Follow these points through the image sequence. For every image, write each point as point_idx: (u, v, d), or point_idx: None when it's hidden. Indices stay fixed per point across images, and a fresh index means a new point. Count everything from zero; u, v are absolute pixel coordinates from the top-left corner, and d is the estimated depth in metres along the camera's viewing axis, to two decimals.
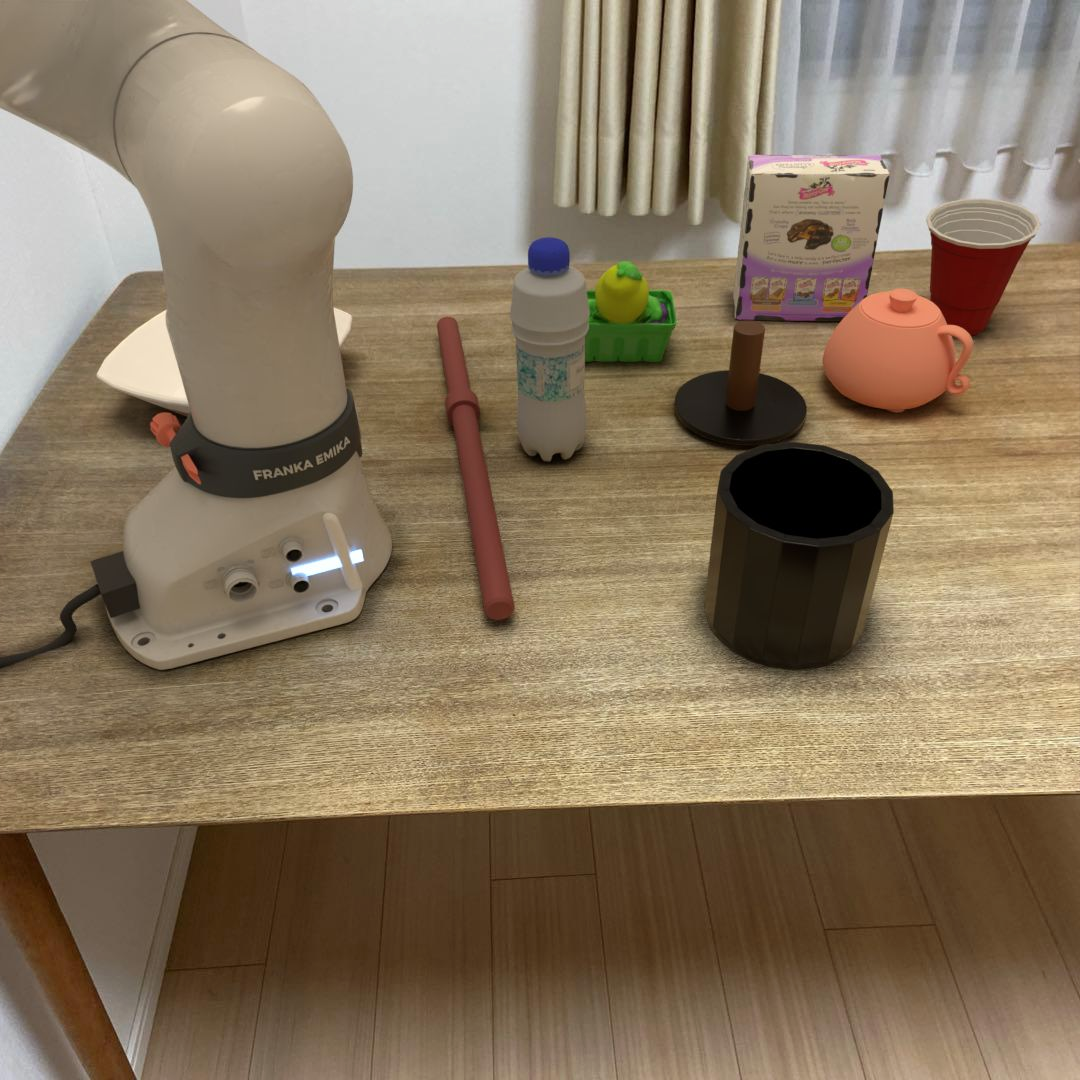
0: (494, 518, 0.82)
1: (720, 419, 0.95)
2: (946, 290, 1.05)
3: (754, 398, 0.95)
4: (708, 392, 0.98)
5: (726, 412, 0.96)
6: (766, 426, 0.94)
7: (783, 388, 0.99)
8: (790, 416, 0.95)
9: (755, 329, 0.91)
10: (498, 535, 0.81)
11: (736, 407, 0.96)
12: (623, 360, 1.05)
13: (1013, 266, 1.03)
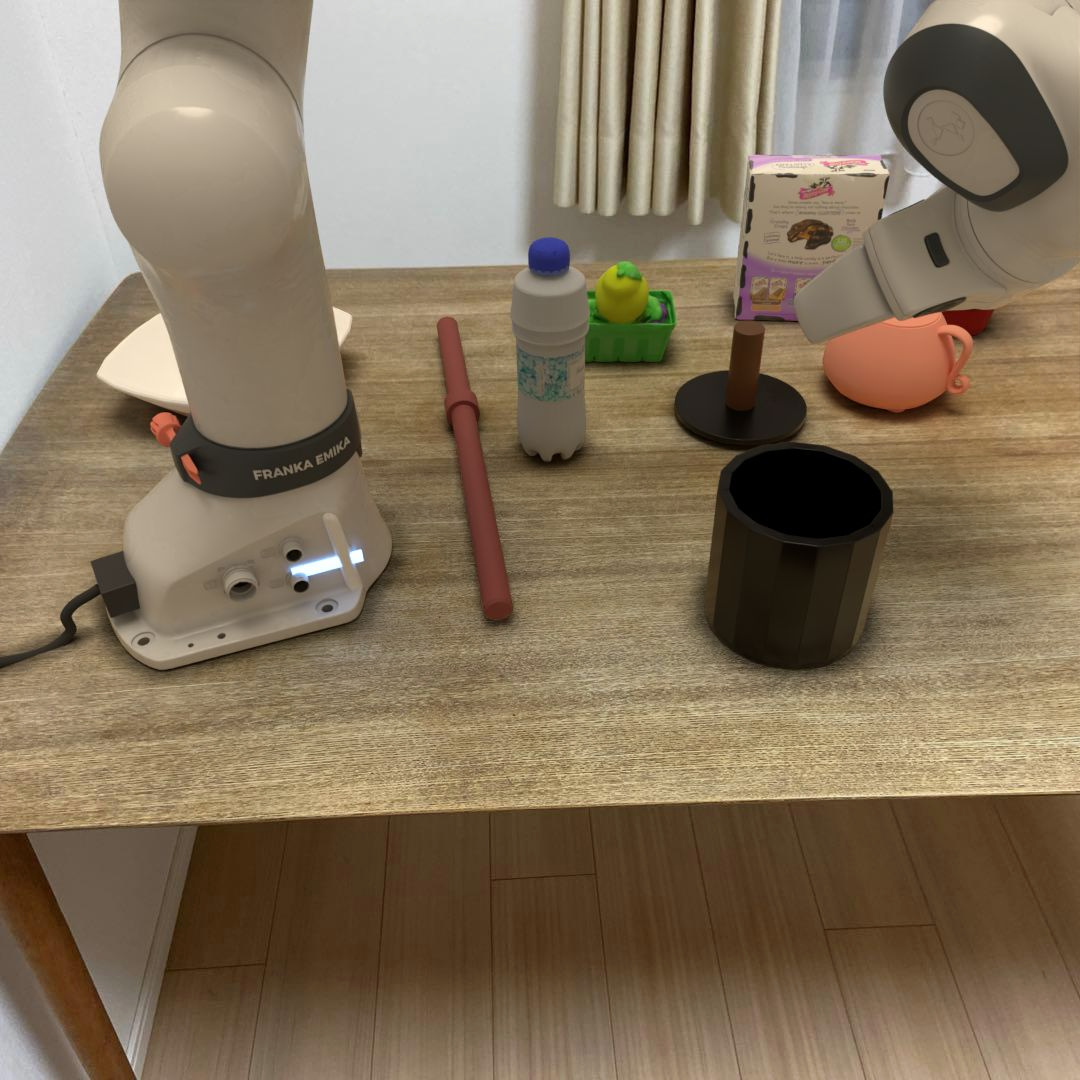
0: (493, 518, 0.82)
1: (720, 419, 0.95)
2: None
3: (754, 398, 0.95)
4: (708, 392, 0.98)
5: (726, 412, 0.96)
6: (766, 426, 0.94)
7: (783, 388, 0.99)
8: (790, 416, 0.95)
9: (755, 329, 0.91)
10: (497, 535, 0.81)
11: (736, 407, 0.96)
12: (623, 360, 1.05)
13: None
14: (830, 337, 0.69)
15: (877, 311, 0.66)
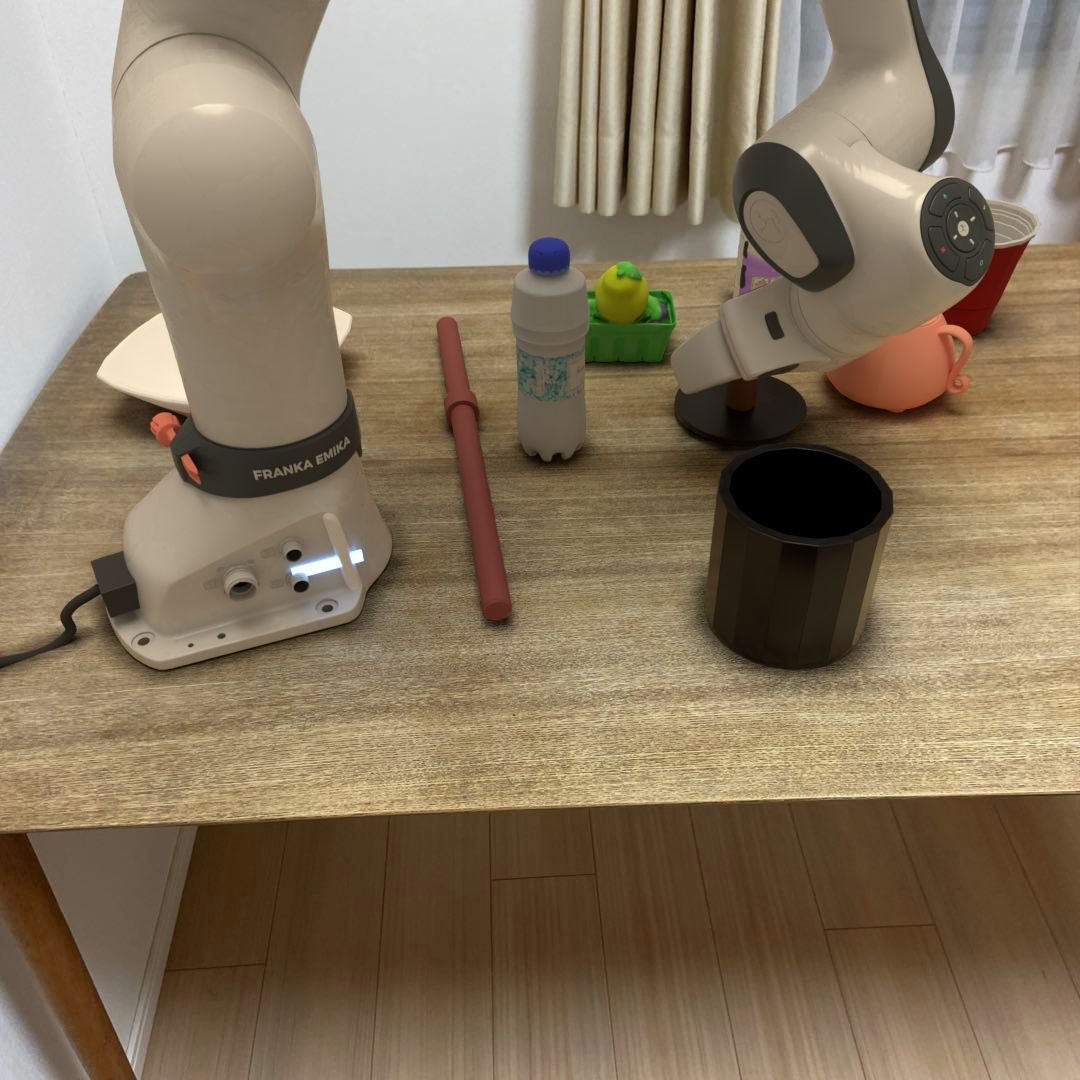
0: (492, 518, 0.82)
1: (720, 419, 0.95)
2: None
3: (754, 398, 0.95)
4: (708, 392, 0.98)
5: (726, 412, 0.96)
6: (766, 426, 0.94)
7: (783, 388, 0.99)
8: (790, 416, 0.95)
9: None
10: (496, 535, 0.81)
11: (736, 407, 0.96)
12: (623, 360, 1.05)
13: (1013, 266, 1.03)
14: (697, 390, 0.84)
15: (729, 372, 0.81)
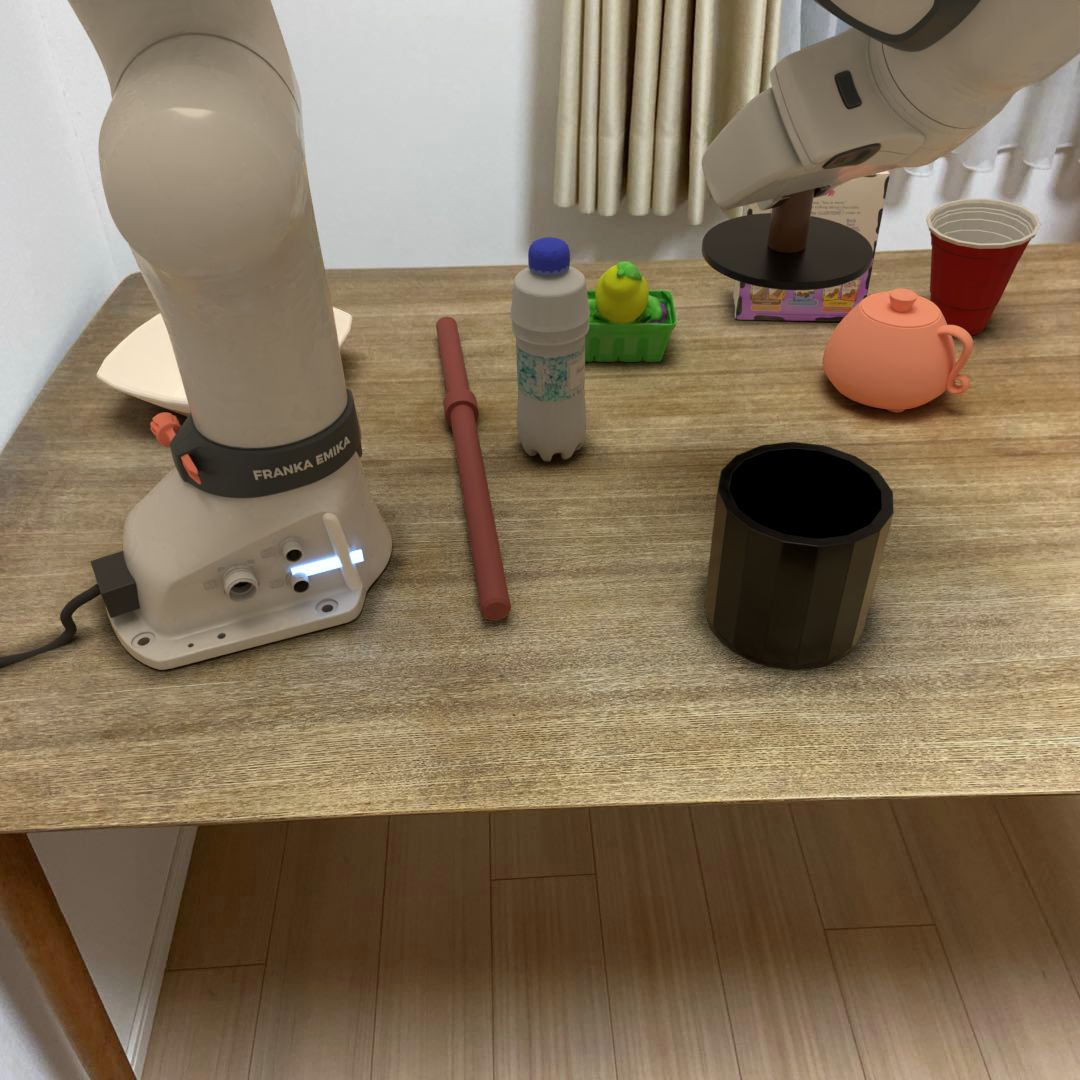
0: (491, 518, 0.82)
1: (762, 261, 0.73)
2: (946, 290, 1.05)
3: (805, 236, 0.74)
4: (745, 235, 0.77)
5: (769, 254, 0.74)
6: (822, 268, 0.72)
7: (839, 230, 0.77)
8: (852, 258, 0.74)
9: None
10: (495, 535, 0.81)
11: (782, 248, 0.74)
12: (623, 360, 1.05)
13: (1013, 266, 1.03)
14: (738, 197, 0.63)
15: (784, 161, 0.60)
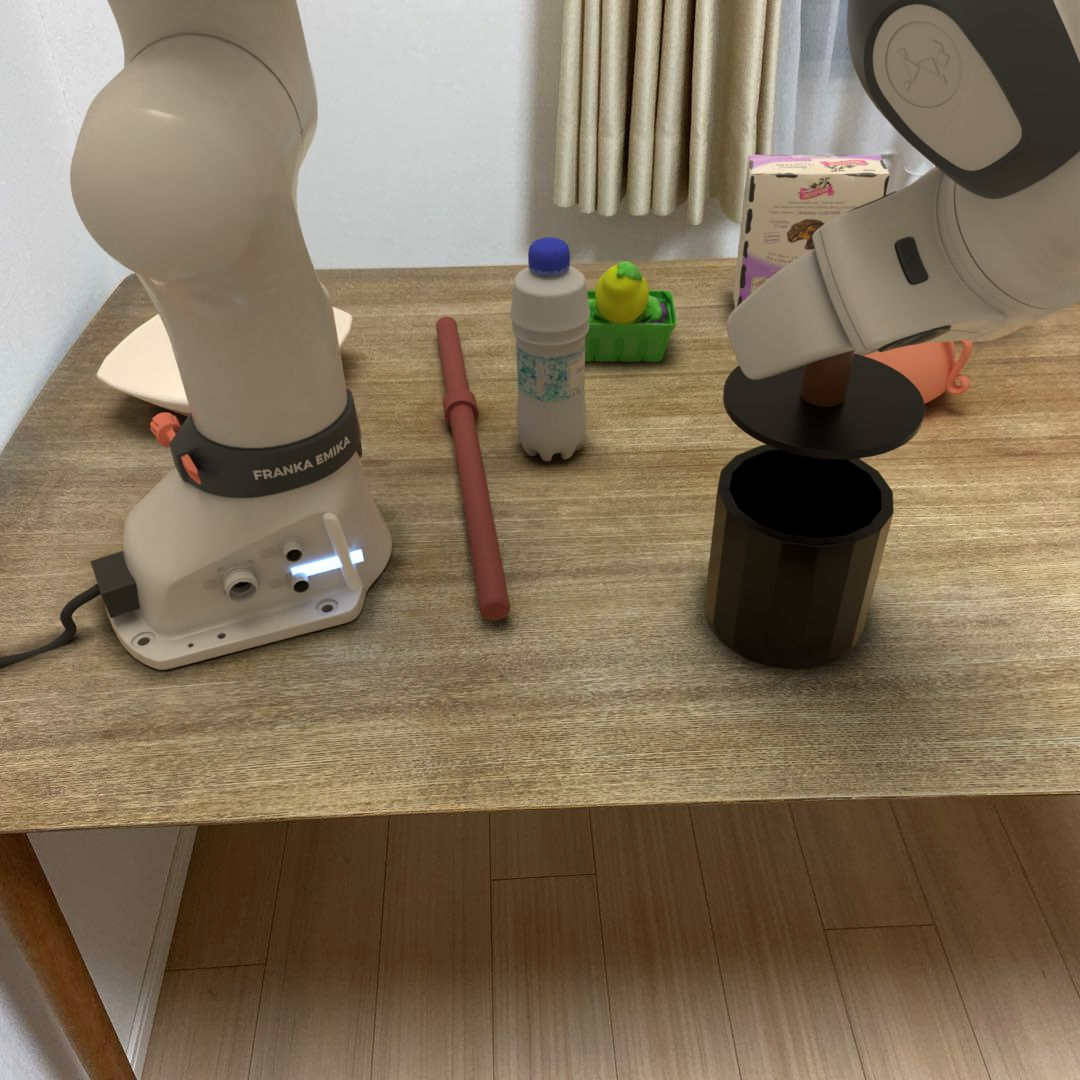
0: (491, 519, 0.82)
1: (795, 419, 0.62)
2: None
3: (846, 387, 0.63)
4: (773, 379, 0.66)
5: (803, 409, 0.63)
6: (867, 430, 0.61)
7: (884, 374, 0.66)
8: (901, 415, 0.62)
9: None
10: (494, 536, 0.81)
11: (818, 401, 0.63)
12: (623, 360, 1.05)
13: None
14: (771, 373, 0.52)
15: (830, 341, 0.49)
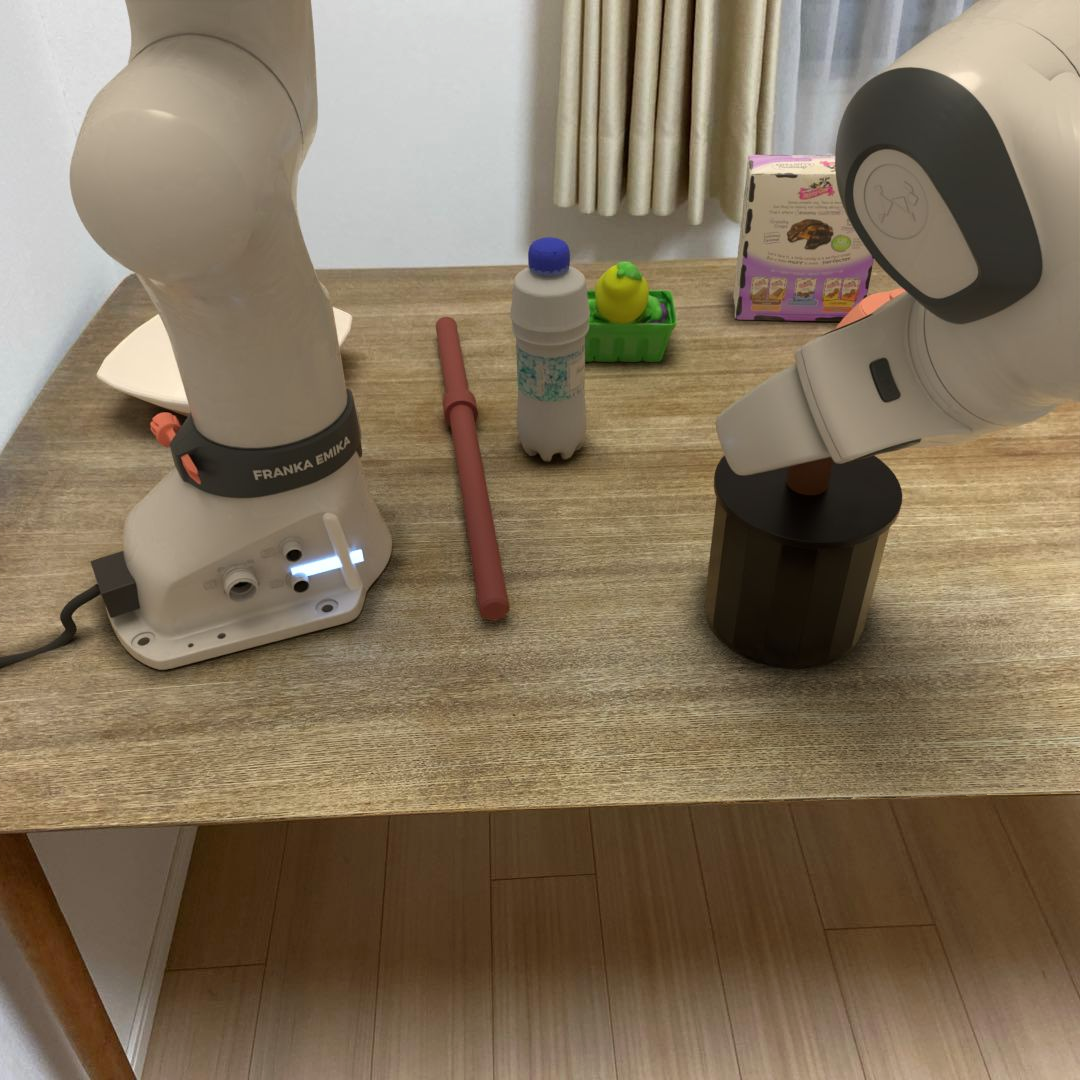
0: (490, 518, 0.82)
1: (781, 508, 0.67)
2: None
3: (828, 478, 0.67)
4: None
5: (788, 497, 0.68)
6: (847, 520, 0.66)
7: (865, 461, 0.71)
8: (880, 504, 0.67)
9: None
10: (494, 536, 0.81)
11: (803, 490, 0.68)
12: (623, 360, 1.05)
13: None
14: (757, 472, 0.56)
15: (810, 449, 0.53)
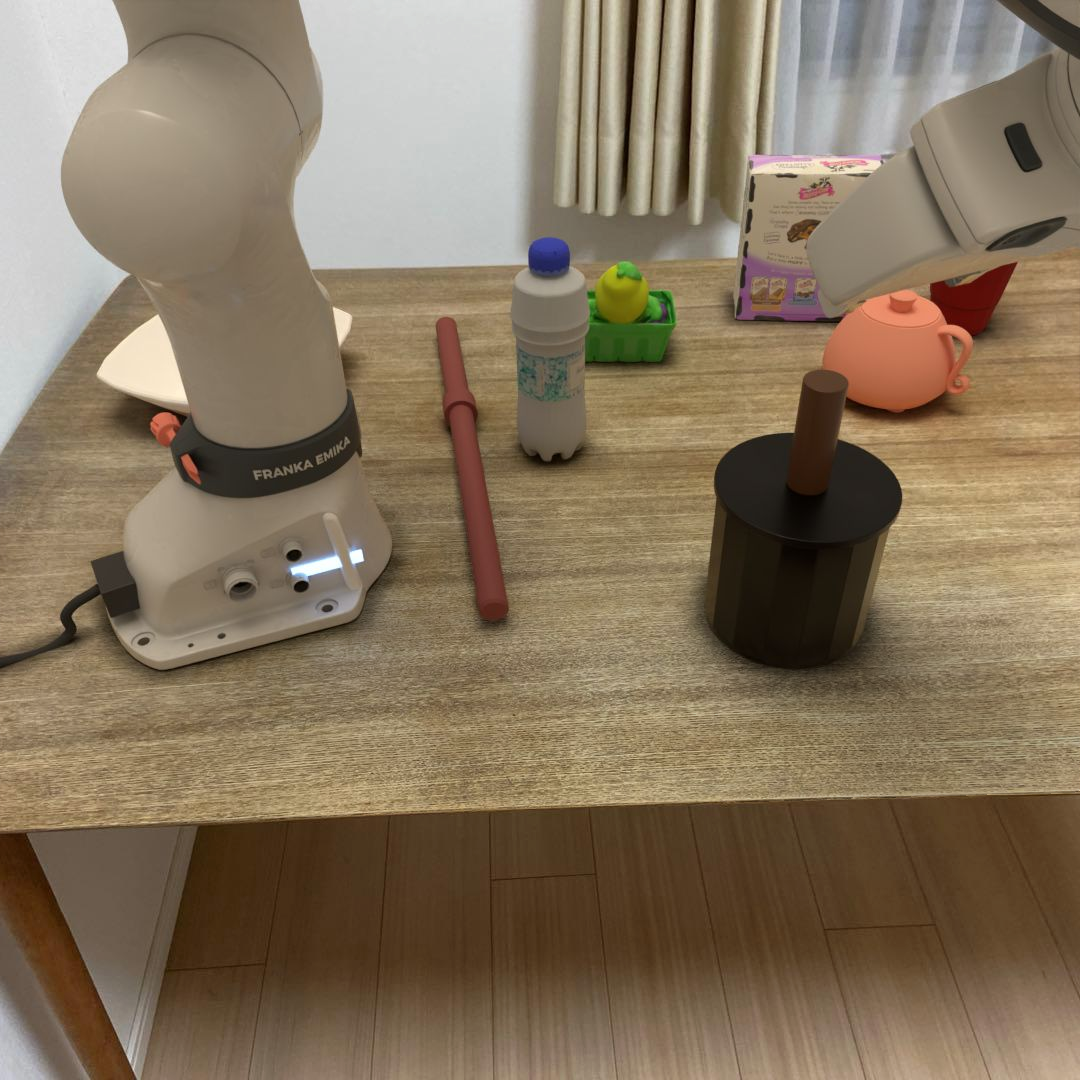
0: (490, 519, 0.82)
1: (781, 508, 0.67)
2: (946, 290, 1.05)
3: (828, 478, 0.67)
4: (761, 466, 0.70)
5: (788, 497, 0.68)
6: (847, 520, 0.66)
7: (865, 461, 0.71)
8: (880, 504, 0.67)
9: (834, 384, 0.63)
10: (493, 536, 0.81)
11: (803, 490, 0.68)
12: (623, 360, 1.05)
13: (1013, 266, 1.03)
14: (861, 290, 0.48)
15: (933, 242, 0.45)
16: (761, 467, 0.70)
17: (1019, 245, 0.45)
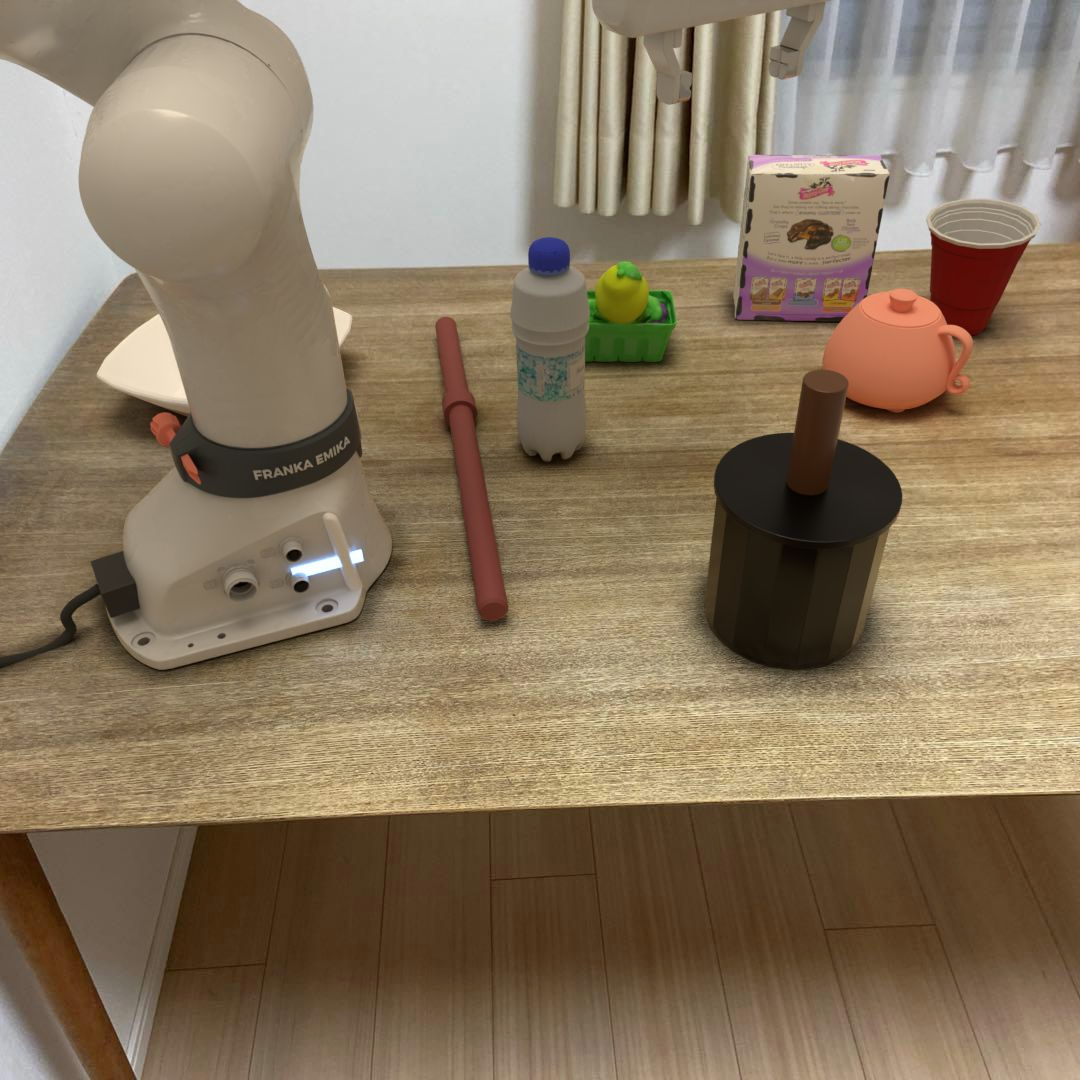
0: (489, 519, 0.82)
1: (781, 508, 0.67)
2: (946, 290, 1.05)
3: (828, 478, 0.67)
4: (761, 466, 0.70)
5: (788, 497, 0.68)
6: (847, 520, 0.66)
7: (865, 461, 0.71)
8: (880, 504, 0.67)
9: (834, 384, 0.63)
10: (493, 536, 0.81)
11: (803, 490, 0.68)
12: (623, 360, 1.05)
13: (1013, 266, 1.03)
14: None
15: None
16: (761, 467, 0.70)
17: None
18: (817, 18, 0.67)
